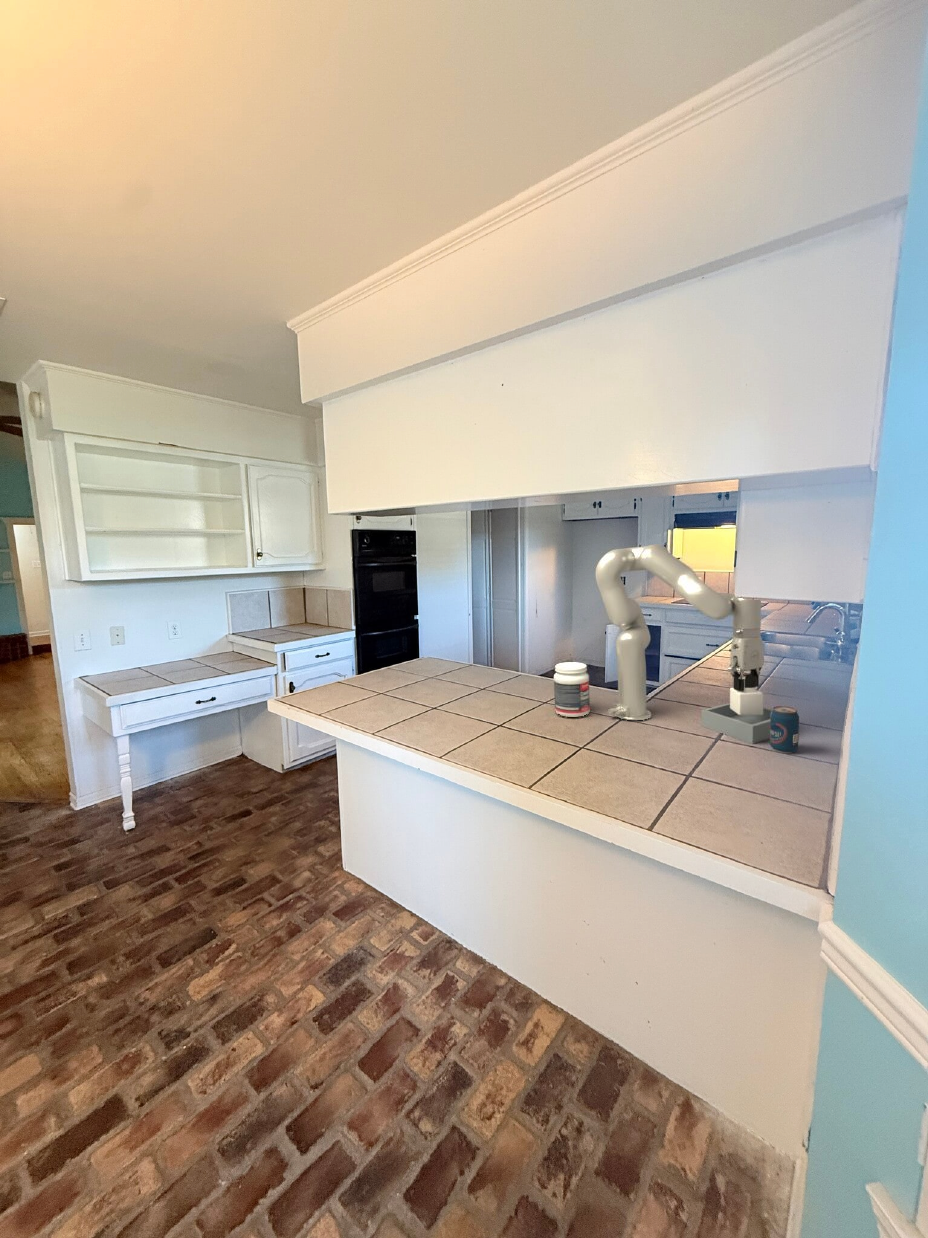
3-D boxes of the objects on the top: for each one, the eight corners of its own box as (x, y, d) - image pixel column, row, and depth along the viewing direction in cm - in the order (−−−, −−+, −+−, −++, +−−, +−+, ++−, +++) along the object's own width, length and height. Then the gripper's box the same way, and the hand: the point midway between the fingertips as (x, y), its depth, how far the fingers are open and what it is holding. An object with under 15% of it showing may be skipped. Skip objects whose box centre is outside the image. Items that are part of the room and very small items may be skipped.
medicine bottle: (752, 707, 161) (752, 672, 159) (763, 715, 153) (763, 677, 152) (729, 708, 161) (729, 673, 160) (739, 715, 154) (739, 678, 153)
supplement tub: (591, 719, 176) (590, 669, 173) (555, 719, 178) (553, 670, 175) (588, 707, 188) (587, 661, 186) (554, 708, 190) (552, 661, 188)
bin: (752, 744, 147) (752, 726, 146) (701, 726, 163) (701, 710, 162) (791, 731, 154) (791, 714, 153) (738, 715, 170) (738, 700, 169)
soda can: (764, 747, 144) (764, 708, 142) (780, 742, 146) (781, 704, 145) (786, 756, 137) (787, 714, 136) (804, 751, 140) (805, 710, 138)
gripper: (738, 638, 147) (738, 696, 150) (776, 631, 154) (775, 686, 156) (716, 635, 154) (716, 690, 156) (753, 628, 161) (753, 681, 163)
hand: (746, 688), depth 156 cm, fingers closed on medicine bottle, 6 cm apart
